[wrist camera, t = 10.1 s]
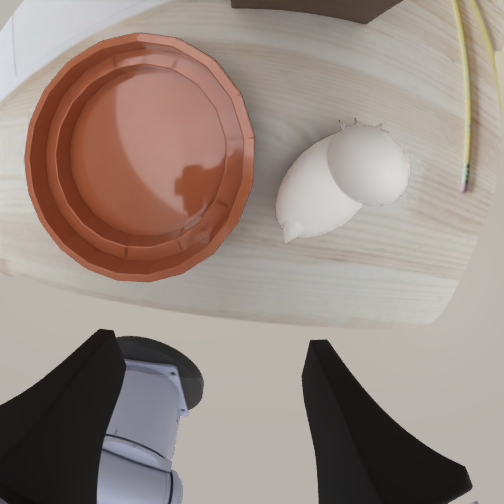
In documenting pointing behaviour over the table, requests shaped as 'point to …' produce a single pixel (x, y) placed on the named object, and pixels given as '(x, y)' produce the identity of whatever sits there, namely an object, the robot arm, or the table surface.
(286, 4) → the taupe notched tower
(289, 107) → the table surface
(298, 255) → the table surface
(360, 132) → the toy creature
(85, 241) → the bowl
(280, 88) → the table surface
